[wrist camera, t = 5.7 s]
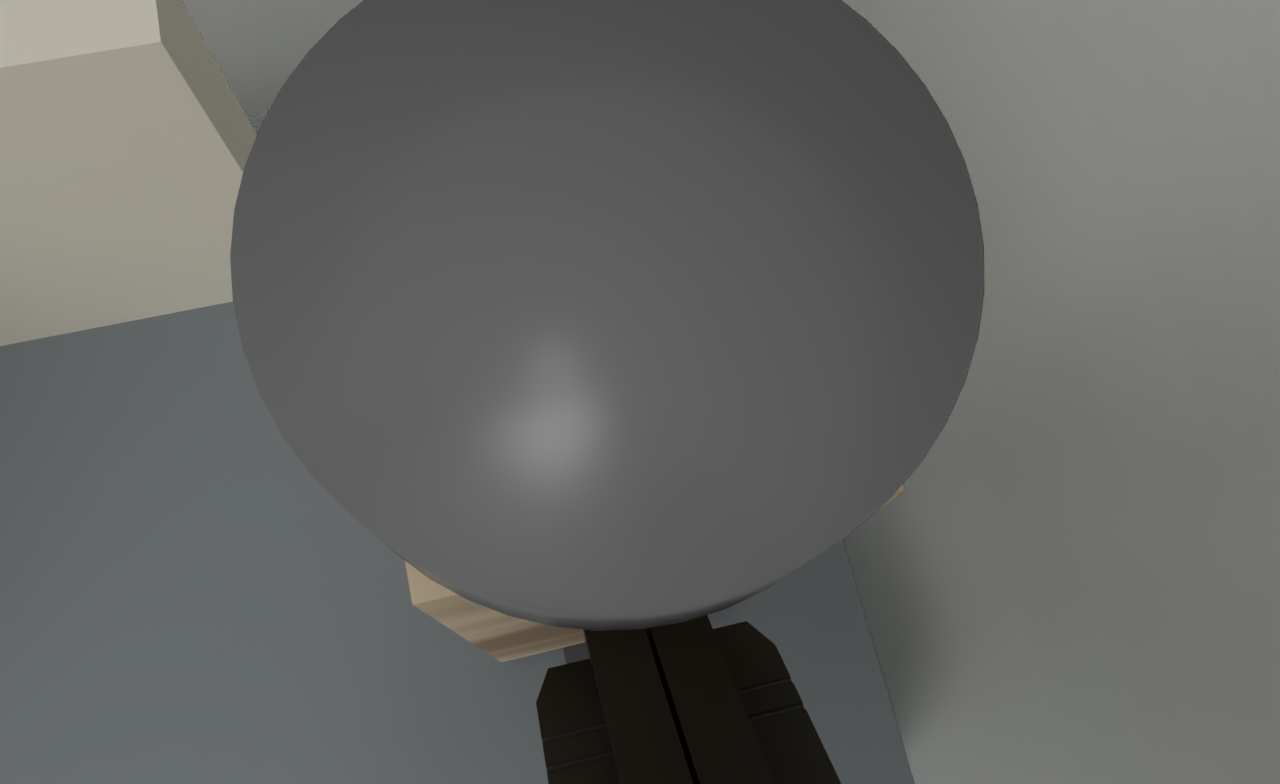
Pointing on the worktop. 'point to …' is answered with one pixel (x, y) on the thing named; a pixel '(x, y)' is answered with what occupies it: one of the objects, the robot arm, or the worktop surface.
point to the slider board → (234, 482)
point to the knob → (605, 296)
